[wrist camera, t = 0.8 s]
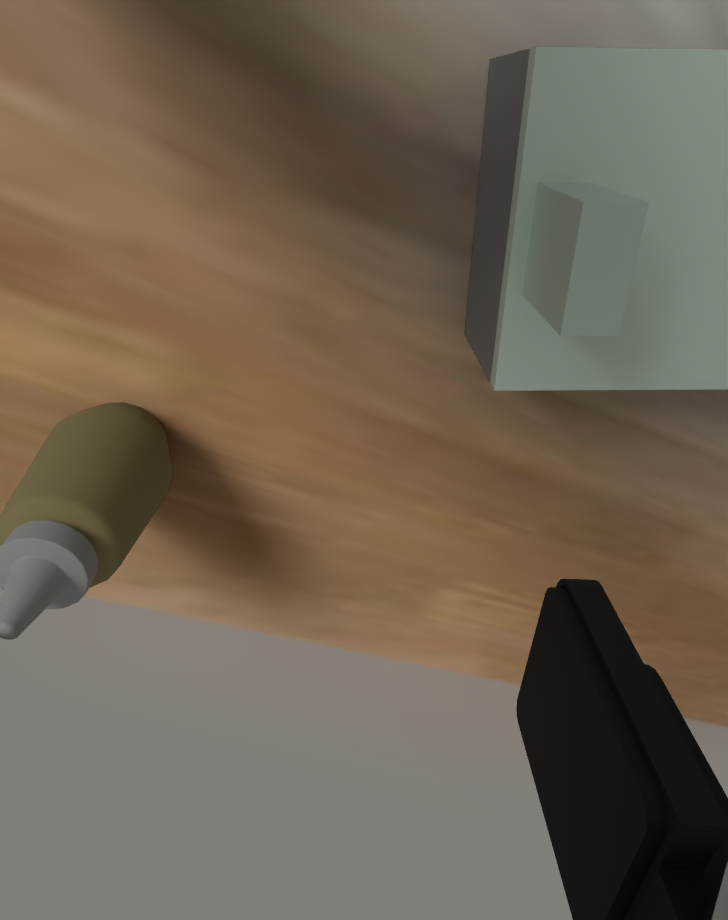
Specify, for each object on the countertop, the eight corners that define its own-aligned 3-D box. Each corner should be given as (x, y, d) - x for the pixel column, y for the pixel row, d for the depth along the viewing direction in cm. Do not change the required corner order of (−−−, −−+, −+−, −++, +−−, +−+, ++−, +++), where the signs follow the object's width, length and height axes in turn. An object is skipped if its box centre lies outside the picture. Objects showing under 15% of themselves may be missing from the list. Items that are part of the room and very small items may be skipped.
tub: (489, 59, 33) (529, 48, 26) (895, 64, 34) (1040, 54, 27) (464, 334, 40) (490, 383, 33) (796, 333, 41) (889, 381, 34)
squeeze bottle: (130, 507, 46) (23, 714, 31) (40, 430, 43) (-131, 620, 27) (209, 447, 44) (137, 639, 28) (121, 362, 41) (-15, 526, 25)
